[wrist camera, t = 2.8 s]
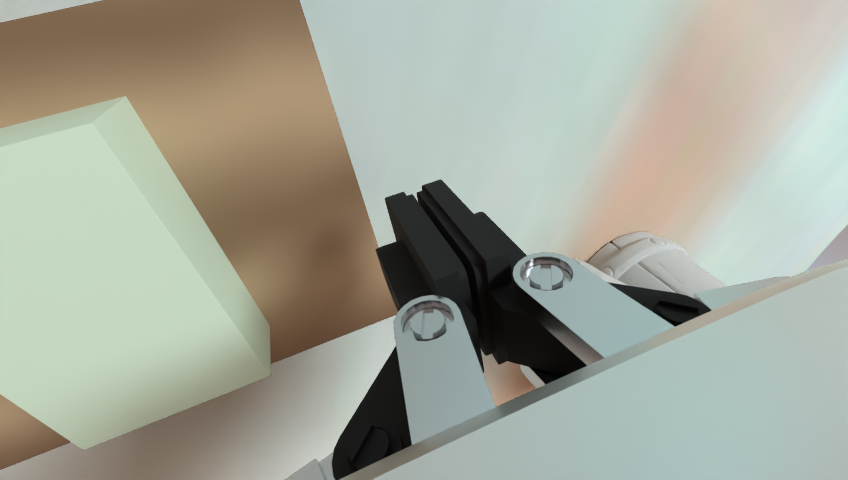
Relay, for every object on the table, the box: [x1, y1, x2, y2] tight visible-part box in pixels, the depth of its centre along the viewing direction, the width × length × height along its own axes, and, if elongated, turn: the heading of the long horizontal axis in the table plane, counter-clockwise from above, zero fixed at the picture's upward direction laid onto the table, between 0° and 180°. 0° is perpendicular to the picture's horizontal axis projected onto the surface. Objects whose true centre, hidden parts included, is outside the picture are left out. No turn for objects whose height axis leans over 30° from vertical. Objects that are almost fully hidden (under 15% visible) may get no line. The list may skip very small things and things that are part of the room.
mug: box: [572, 231, 728, 298], centre depth 22 cm, size 8×12×12 cm, turn 62°
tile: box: [0, 96, 271, 450], centre depth 11 cm, size 9×6×2 cm, turn 12°
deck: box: [0, 0, 398, 470], centre depth 13 cm, size 13×18×4 cm
